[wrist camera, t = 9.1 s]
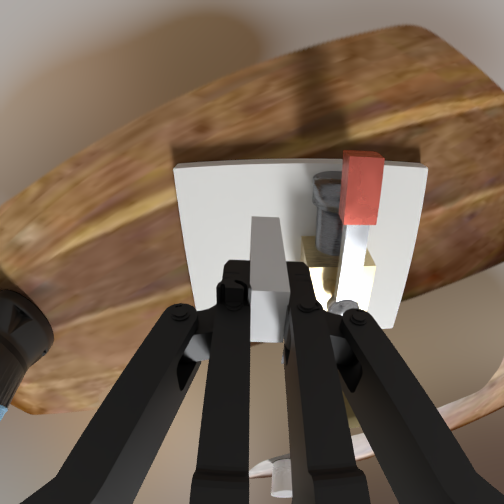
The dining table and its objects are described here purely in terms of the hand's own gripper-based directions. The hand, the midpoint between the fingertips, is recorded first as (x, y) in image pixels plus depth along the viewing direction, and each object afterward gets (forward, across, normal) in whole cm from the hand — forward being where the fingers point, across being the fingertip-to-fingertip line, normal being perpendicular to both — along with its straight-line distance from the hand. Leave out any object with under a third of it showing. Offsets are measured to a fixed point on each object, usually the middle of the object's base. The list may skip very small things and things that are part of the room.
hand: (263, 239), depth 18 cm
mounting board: (+19, +6, -12) cm, 23 cm away
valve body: (+17, +9, -12) cm, 22 cm away
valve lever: (+9, +8, -5) cm, 13 cm away
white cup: (+19, +12, -78) cm, 82 cm away
